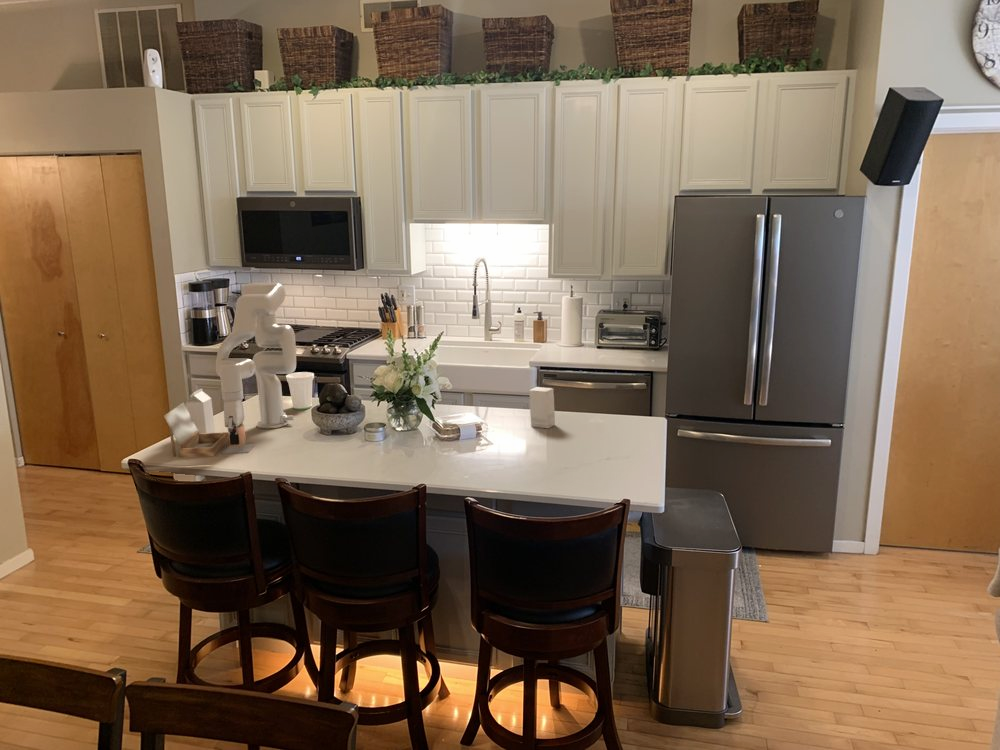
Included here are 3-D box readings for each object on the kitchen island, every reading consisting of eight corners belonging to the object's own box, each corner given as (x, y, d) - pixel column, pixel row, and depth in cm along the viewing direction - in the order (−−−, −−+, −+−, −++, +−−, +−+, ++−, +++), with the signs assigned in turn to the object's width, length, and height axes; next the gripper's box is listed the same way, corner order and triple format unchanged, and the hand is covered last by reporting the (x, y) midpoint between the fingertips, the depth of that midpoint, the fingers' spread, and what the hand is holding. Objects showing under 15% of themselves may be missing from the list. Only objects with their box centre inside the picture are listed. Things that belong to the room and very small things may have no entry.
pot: (247, 441, 288) (246, 423, 287) (243, 446, 282) (241, 428, 281) (231, 442, 288) (230, 424, 286) (227, 446, 282) (225, 428, 280)
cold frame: (229, 440, 298) (225, 400, 294) (213, 456, 278) (209, 414, 275) (187, 442, 297) (182, 402, 293) (168, 458, 278) (163, 415, 274)
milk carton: (215, 433, 308) (210, 388, 304) (206, 438, 301) (201, 392, 297) (198, 433, 309) (193, 388, 305) (190, 438, 302) (184, 392, 298)
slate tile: (255, 445, 291) (255, 444, 291) (248, 453, 281) (248, 452, 281) (228, 446, 290) (228, 445, 290) (221, 454, 280) (220, 453, 280)
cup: (315, 410, 341) (312, 377, 338) (286, 411, 340) (284, 378, 337) (317, 403, 353) (315, 371, 350) (290, 404, 352) (287, 372, 349)
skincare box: (555, 425, 308) (555, 388, 305) (547, 429, 303) (547, 391, 300) (537, 422, 313) (537, 386, 309) (529, 426, 307) (528, 389, 304)
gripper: (229, 390, 289) (233, 435, 293) (215, 401, 272) (220, 449, 276) (249, 389, 290) (253, 434, 293) (236, 400, 273) (241, 448, 277)
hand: (237, 441), depth 285 cm, fingers closed on pot, 6 cm apart
